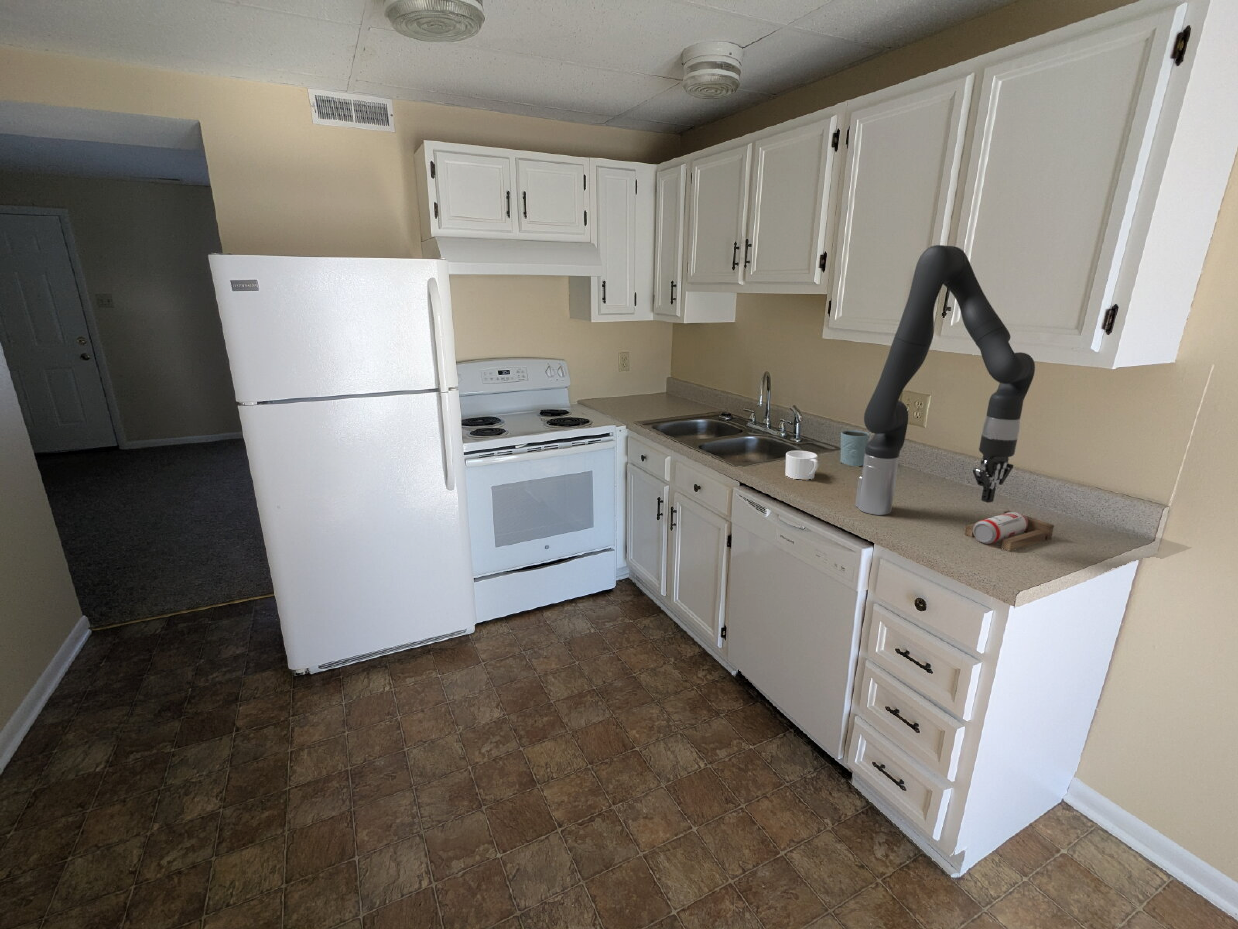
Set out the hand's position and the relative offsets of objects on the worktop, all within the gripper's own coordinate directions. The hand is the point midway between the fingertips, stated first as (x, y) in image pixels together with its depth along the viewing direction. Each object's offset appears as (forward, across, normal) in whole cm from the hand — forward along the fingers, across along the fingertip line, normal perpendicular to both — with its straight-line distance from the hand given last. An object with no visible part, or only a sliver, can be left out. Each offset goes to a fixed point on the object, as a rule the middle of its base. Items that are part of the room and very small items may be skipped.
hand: (986, 501), depth 151 cm
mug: (+12, +1, -64) cm, 65 cm away
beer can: (+9, -1, 0) cm, 9 cm away
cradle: (+12, -11, 0) cm, 16 cm away
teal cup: (+12, -28, -69) cm, 75 cm away
